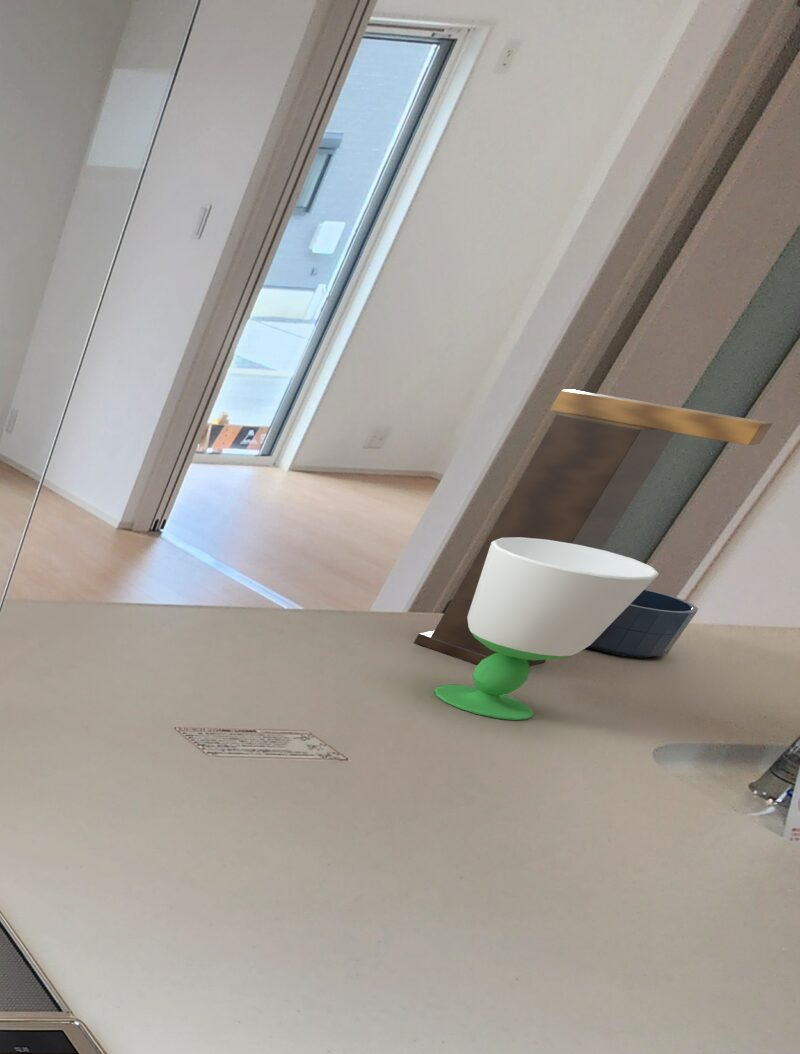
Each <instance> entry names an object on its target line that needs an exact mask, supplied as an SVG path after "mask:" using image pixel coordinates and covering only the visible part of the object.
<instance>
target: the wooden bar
mask: <svg viewBox="0 0 800 1054" xmlns="http://www.w3.org/2000/svg"><path fill="white" fill-rule="evenodd" d="M550 411H554V412H560V413H563V414H575V415H581V416H587V417H592V418H598V419H603V420H609V421H614V422H620V423H626V424H631V425H637V426H642V427H648V428H653V429H659V430H665V431H670V432H675V434H682V435H687V436H692V437H693V436H694V437H698V438H704V439H710V440H716V441H721V442H726V443H731V444H737V445H743V446H756V445H760V444H761V442H762V440H764V438H765V436H766V435H767V433H768V432H769V430H770V429H771V427H772V426H773V424H774V423H773V422H769V421H763V420H758V419H752V418H746V417H739V416H735V415H728V414H723V413H722V414H721V413H715V412H709V411H703V410H698V409H691V408H686V407H680V406H673V405H668V404H663V403H662V404H661V403H654V402H650V401H648V402H647V401H643V400H637V399H632V398H631V399H630V398H624V397H619V396H613V395H607V394H601V393H594V392H589V391H582V390H576V389H561V390H560V392H559V394H558V395H557V397H556V399H555V400H554V402H553V404H552V405H551V408H550Z"/></svg>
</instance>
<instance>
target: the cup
mask: <svg viewBox="0 0 800 1054" xmlns="http://www.w3.org/2000/svg"><path fill="white" fill-rule="evenodd" d="M658 576H659V572H658V571H657V570H656V569H655V568H654V567H653V566H652V565H649V564H646V563H644V562H642V561H639V560H637V559H634V558H632V557H629V556H625V555H621V554H619V553H615V552H612V551H608V550H604V549H601V550H600V549H595V548H591V547H586V546H581V545H577V544H571V543H564V542H558V541H552V540H545V539H534V538H523V537H512V538H500V539H497V540H495V541H493V542H491V545H490V548H489V551H488V554H487V557H486V560H485V564H484V567H483V570H482V573H481V576H480V579H479V582H478V585H477V588H476V591H475V595H474V598H473V601H472V604H471V607H470V610H469V613H468V616H467V619H468V627H469V629H470V632H471V633H472V634H473V636H474V637H475V638H476V639H477V640H478V641H480V642H481V643H482V644H484V645H485V646H486V647H488V648H489V649H491V650H493V651H495V652H498V653H494V654H492V655H490V656H488V657H487V658H485V659H483V660H482V661H481V662H480V663H479V664H478V665H477V664H476V666H475V668H474V670H473V673H472V678H473V679H472V680H473V684H474V686H475V687H474V686H469V685H461V684H445V685H439V686H438V687H436V688H435V689H434V692H435V693H434V694H435V696H436V697H437V698H439V699H440V700H441V701H443V702H444V703H446V704H448V705H451V706H452V707H454V708H456V709H459V710H463V711H465V712H469V713H472V714H475V715H478V716H483V717H487V718H493V719H497V720H507V721H525V720H526V721H527V720H530V719H531V718H532V717H533V716H534V715H535V713H534V712H533V710H532V708H531V707H530V706H529V705H526V704H525V703H524V702H522V701H520V700H518V699H515V698H513V697H510V696H508V694H510V693H512V692H514V691H516V690H518V689H520V688H521V687H522V686H523V684H525V683H526V682H527V680H528V677H529V675H530V670H531V669H530V666H529V664H528V662H527V660H546V659H547V660H556V659H557V660H558V659H565V658H568V657H571V656H574V655H576V654H578V653H580V652H582V651H583V650H585V649H586V648H587V649H588V646H590V645H591V644H592V643H593V642H594V641H595V640H596V639H597V638H598V637H599V636H600V635H601V634H602V633H603V632H604V631H605V630H606V629H607V628H608V626H609V625H610V624H611V623H612V622H613V621H614V620H615V619H616V618H617V617H618V616H619V615H620V614H621V613H622V612H623V611H624V610H625V609H626V608H627V607H628V606H629V605H630V604H631V603H632V602H633V601H634V600H635V599H636V598H637V597H638V596H639V595H640V594H641V592H642V591H643V590H644V589H647V587H648V586H650V584H652V583H653V581H654V580H655V579H656V578H657V577H658ZM547 660H546V661H547Z"/></svg>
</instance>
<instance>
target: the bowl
mask: <svg viewBox="0 0 800 1054" xmlns="http://www.w3.org/2000/svg"><path fill="white" fill-rule="evenodd" d="M698 610H699V608H698V607H697V606H696V605H695V604H694V603H691V602H689V601H687V600H685V599H682V598H679V597H676V596H673V595H670V594H667V593H663V592H660V591H657V590H656V591H655V590H652V589H648V588H645V589H644V590H643V591H642V592H641V594H640V595H639V596H638V597H637V598H636V599H635V600H634V601H633V602H632V603H631V604H630V605H629V606H628V607H627V608H626V609H625V610H624V611H623V612H622V613H621V614H620V615H619V616H618V617H617V618H616V619H615V620H614V621H613V622H612V623H611V624H610V625H609V626H608V628H607V629H606V630H605V631H604V632H603V633H602V634H601V635H600V636H599V637H598V638H597V639H596V640H595V641H594V642H593V643H592V644H591V645H590V646H588V647H587V649H588V648H589V649H592V650H594V651H598V652H602V653H606V654H611V655H615V656H622V657H629V658H638V659H639V658H653V657H661V656H665V655H668V654H669V652H670V651H671V650H672V648H673V647H674V645H675V644H676V642H677V641H678V639H679V638H680V636H682V634H683V632H684V631H685V630H686V628H687V627H688V625H689V624H690V623H691V621H692V620H693V618H694V617H695V616H696V614H697V613H698Z"/></svg>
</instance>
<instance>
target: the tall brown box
mask: <svg viewBox="0 0 800 1054" xmlns="http://www.w3.org/2000/svg"><path fill="white" fill-rule="evenodd" d="M675 434H676V432H670V431H665V430H659V429H653V428H648V427H642V426H637V425H631V424H626V423H620V422H614V421H609V420H603V419H598V418H592V417H587V416H581V415H575V414H570V413H560V414H558V413H557V414H556V415H555V416H554V418H553V420H552V421H551V424H550V425H549V427H548V428H547V431H545V434H544V435H543V438H542V439H541V441H540V443H539V444H538V446H537V448H536V449H535V452H534V453H533V455H532V456H531V459H530V461H529V463H528V464H527V466H526V467H525V469H524V471H523V473H522V475H521V477H520V478H519V480H518V482H517V484H516V485H515V487H514V489H513V491H512V493H511V494H510V496H509V498H508V500H507V501H506V503H505V505H504V506H503V508H502V510H501V512H500V513H499V516H498V517H497V519H496V521H495V522H494V525H493V526H492V528H491V530H490V531H489V533H488V535H487V536H486V538H485V540H484V542H483V544H482V545H481V548H480V549H479V551H478V553H477V555H476V556H475V558H474V559H473V562H472V563H471V564H470V567H469V569H468V570H467V572H466V574H465V576H464V578H463V579H462V581H461V583H460V584H459V586H458V588H457V590H456V592H455V593H454V596H453V597H452V599H451V601H450V602H449V604H448V605H447V607H446V609H445V611H444V613H443V614H442V616H441V618H440V620H439V622H438V624H437V625H436V627H435V629H434V630H431V631H425V632H420V633H418V634H417V635H416V638H414V639H415V640H414V641H413V643H414V644H415V645H419V646H422V647H424V648H428V649H431V650H433V651H436V652H440V653H443V654H446V655H448V656H451V657H454V658H457V659H459V660H462V661H465V662H469V663H471V664H474V665H476V666H477V665H478V664H479V663H480V662H481V661H482V660H483V659H485V658H487V657H488V656H490V655H492V654H494V653H498V652H495V651H493V650H491V649H489V648H488V647H486V646H485V645H484V644H482V643H481V642H480V641H478V640H477V639H476V638H475V637H474V636H473V634H472V633H471V632H470V629H469V627H468V619H467V616H468V613H469V610H470V607H471V604H472V601H473V598H474V595H475V591H476V588H477V585H478V582H479V579H480V576H481V573H482V570H483V567H484V564H485V560H486V557H487V554H488V551H489V548H490V545H491V542H493V541H495V540H497V539H500V538H512V537H523V538H534V539H545V540H552V541H558V542H564V543H571V544H577V545H581V546H586V547H591V548H595V549H600V550H603V548H604V547H605V545H606V543H607V542H608V540H609V538H610V537H611V536H612V534H613V532H614V530H615V529H616V527H617V526H618V524H619V522H620V521H621V519H622V517H624V514H625V513H626V511H627V510H628V508H629V507H630V505H631V503H632V502H633V500H634V499H635V497H636V496H637V494H638V492H639V490H640V489H641V487H643V484H644V483H645V481H646V480H647V478H648V476H649V475H650V473H651V472H652V470H653V469H654V467H655V466H656V464H657V462H658V460H659V459H660V458H661V455H662V454H663V452H664V451H665V450H666V448H667V447H668V445H669V443H670V442H671V440H672V438H673V437H674V435H675ZM547 660H548V659H546V660H527V662H528V664H529V667H530V666H534V665H539V664H544V663H546V662H547Z"/></svg>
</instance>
